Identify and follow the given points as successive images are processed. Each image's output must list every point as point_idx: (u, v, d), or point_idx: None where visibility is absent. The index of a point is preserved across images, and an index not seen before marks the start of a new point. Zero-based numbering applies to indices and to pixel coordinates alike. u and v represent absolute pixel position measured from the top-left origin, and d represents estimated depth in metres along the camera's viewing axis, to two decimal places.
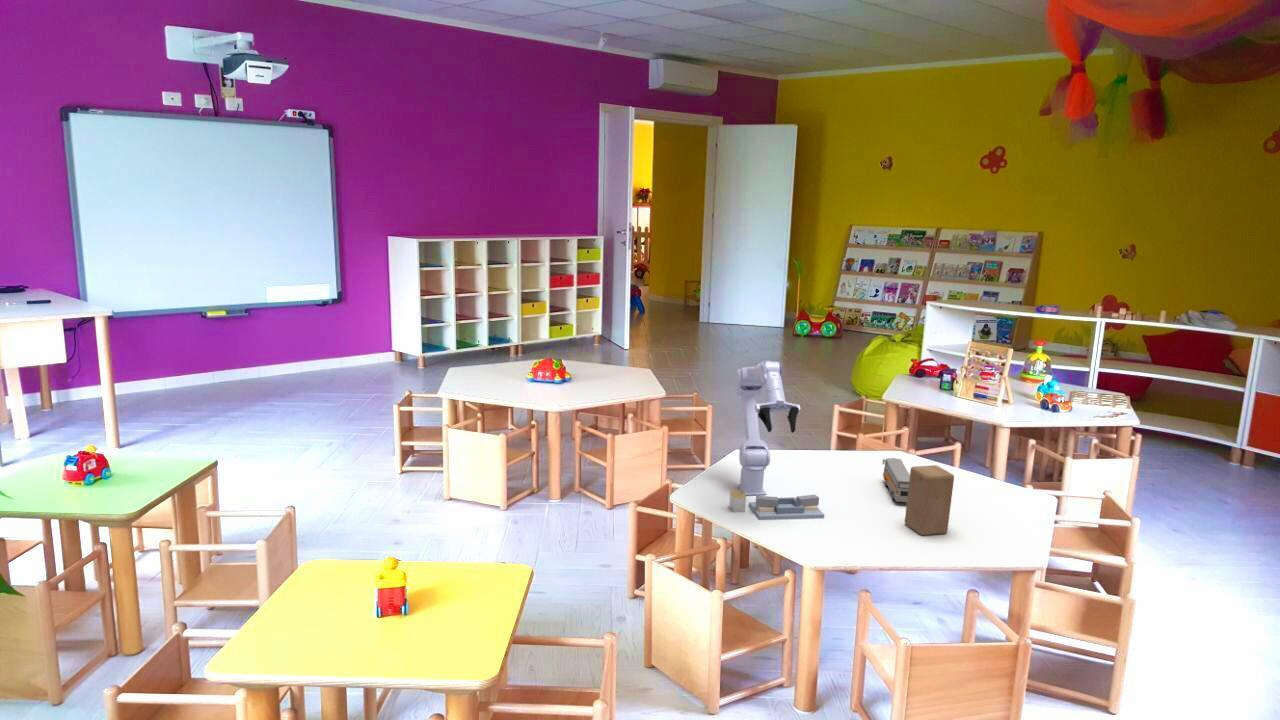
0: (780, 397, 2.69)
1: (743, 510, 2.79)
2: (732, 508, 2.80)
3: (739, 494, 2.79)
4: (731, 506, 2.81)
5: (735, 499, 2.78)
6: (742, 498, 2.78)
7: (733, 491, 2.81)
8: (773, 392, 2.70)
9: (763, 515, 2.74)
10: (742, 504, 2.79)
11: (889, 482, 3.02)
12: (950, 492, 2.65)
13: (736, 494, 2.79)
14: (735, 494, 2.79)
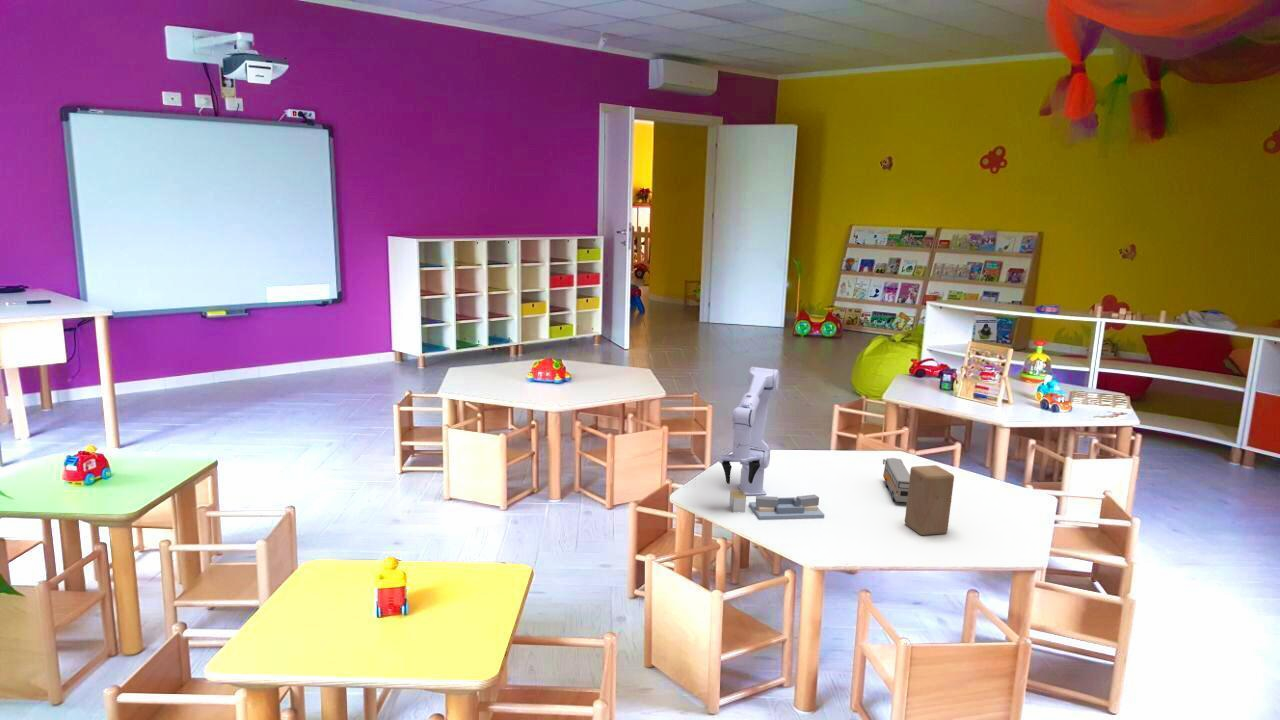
0: (744, 454, 2.75)
1: (743, 510, 2.79)
2: (732, 508, 2.80)
3: (739, 494, 2.79)
4: (731, 506, 2.81)
5: (735, 499, 2.78)
6: (742, 498, 2.78)
7: (733, 491, 2.81)
8: (739, 448, 2.74)
9: (763, 515, 2.74)
10: (742, 504, 2.79)
11: (889, 482, 3.02)
12: (950, 492, 2.65)
13: (736, 494, 2.79)
14: (735, 494, 2.79)
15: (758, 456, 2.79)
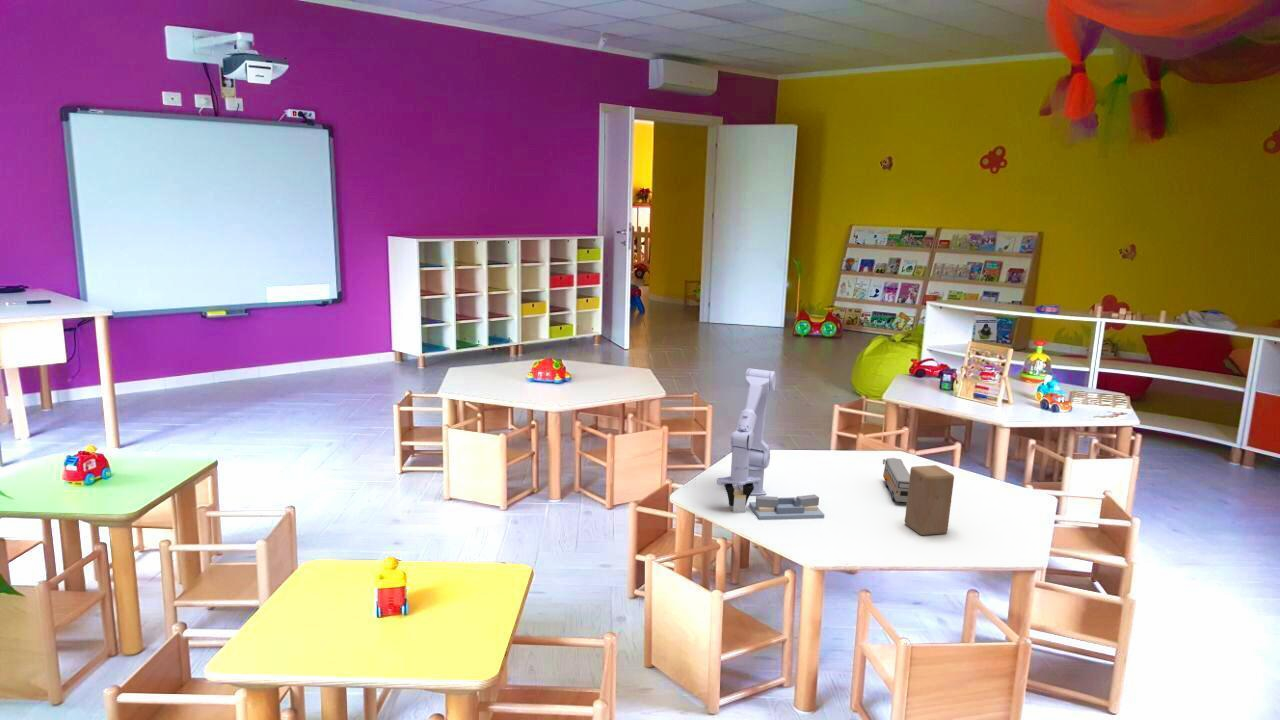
0: (743, 477, 2.76)
1: (743, 510, 2.79)
2: (732, 508, 2.80)
3: (739, 494, 2.79)
4: (731, 506, 2.81)
5: (735, 499, 2.78)
6: (742, 498, 2.78)
7: None
8: (737, 471, 2.76)
9: (763, 515, 2.74)
10: (742, 504, 2.79)
11: (889, 482, 3.02)
12: (950, 492, 2.65)
13: (736, 494, 2.79)
14: (735, 494, 2.79)
15: (756, 479, 2.80)
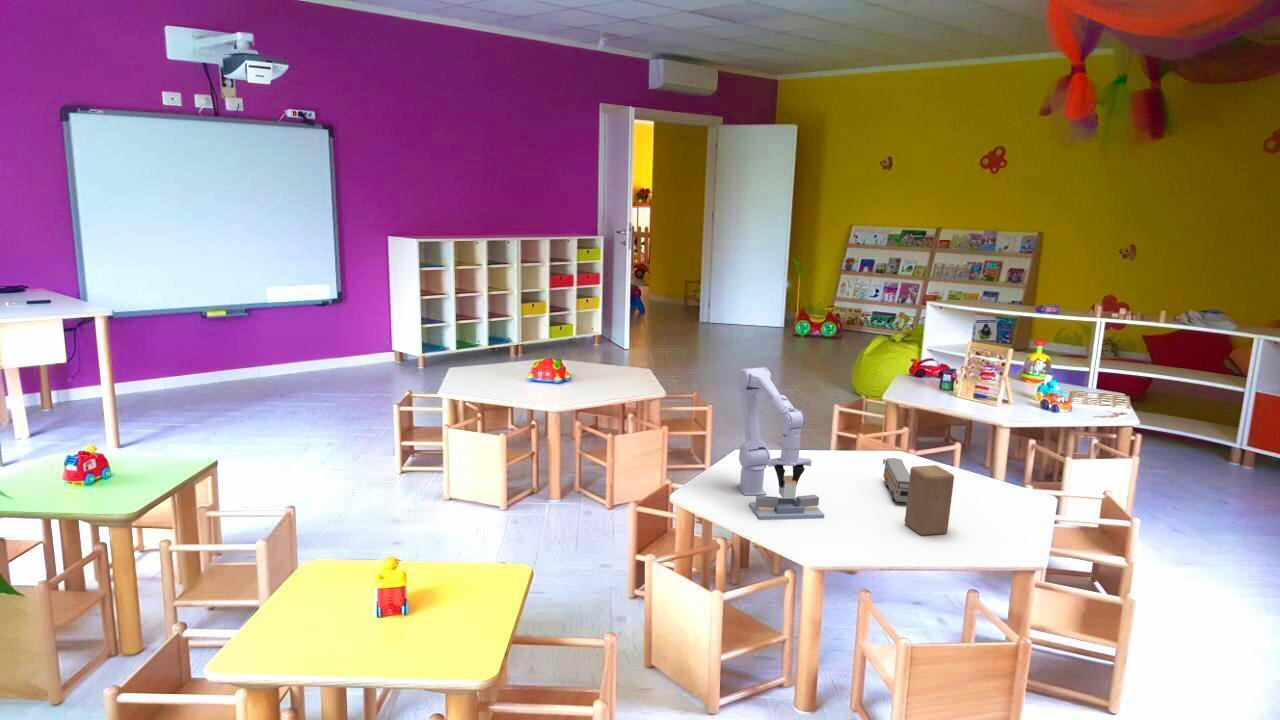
0: (793, 458, 2.75)
1: (793, 496, 2.78)
2: (782, 494, 2.78)
3: (789, 480, 2.77)
4: (781, 492, 2.79)
5: (785, 485, 2.76)
6: (792, 483, 2.77)
7: None
8: (788, 452, 2.74)
9: (763, 515, 2.74)
10: (793, 490, 2.77)
11: (889, 482, 3.02)
12: (950, 492, 2.65)
13: (786, 480, 2.77)
14: (785, 480, 2.77)
15: (807, 460, 2.78)
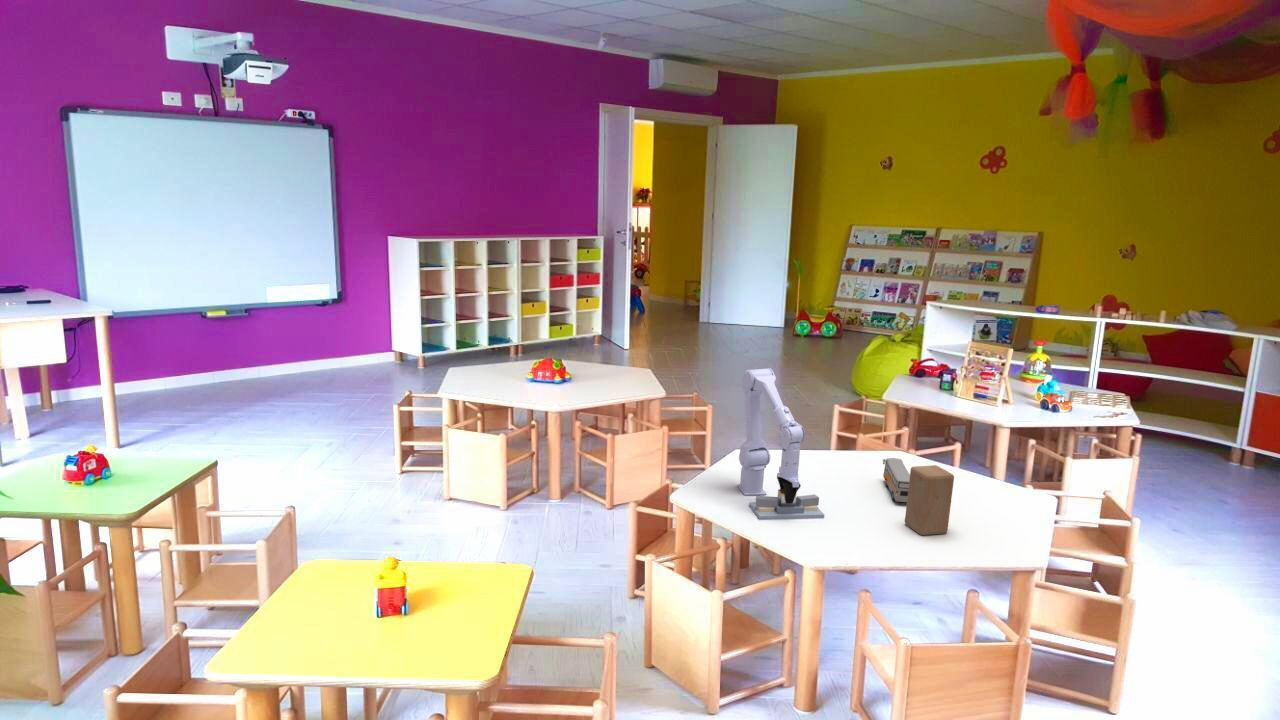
0: (781, 470, 2.77)
1: None
2: None
3: (782, 491, 2.80)
4: None
5: (778, 493, 2.81)
6: (780, 495, 2.79)
7: None
8: None
9: (763, 515, 2.74)
10: (780, 502, 2.79)
11: (889, 482, 3.02)
12: (950, 492, 2.65)
13: (781, 490, 2.81)
14: (781, 489, 2.81)
15: (794, 480, 2.73)
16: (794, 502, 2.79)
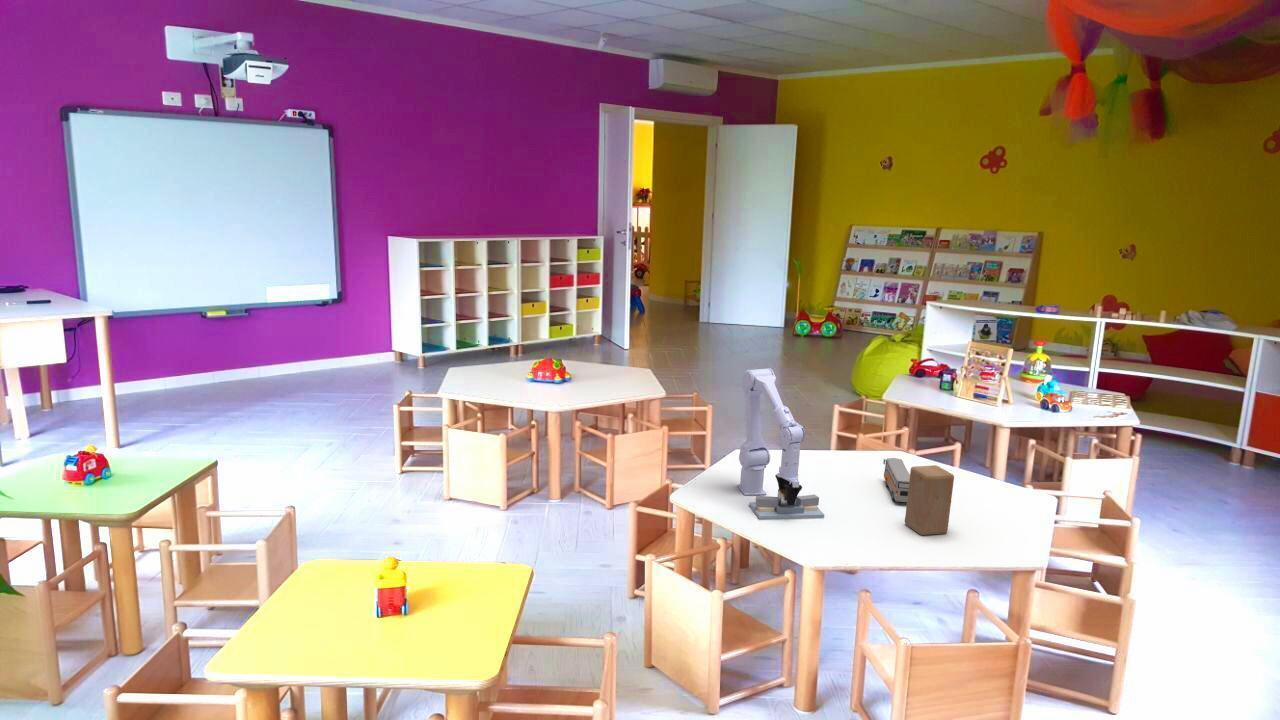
0: (781, 470, 2.77)
1: None
2: None
3: (782, 491, 2.80)
4: None
5: (778, 493, 2.81)
6: (780, 495, 2.79)
7: None
8: None
9: (763, 515, 2.74)
10: (780, 502, 2.79)
11: (889, 482, 3.02)
12: (950, 492, 2.65)
13: (781, 490, 2.81)
14: (781, 489, 2.81)
15: (794, 480, 2.73)
16: None
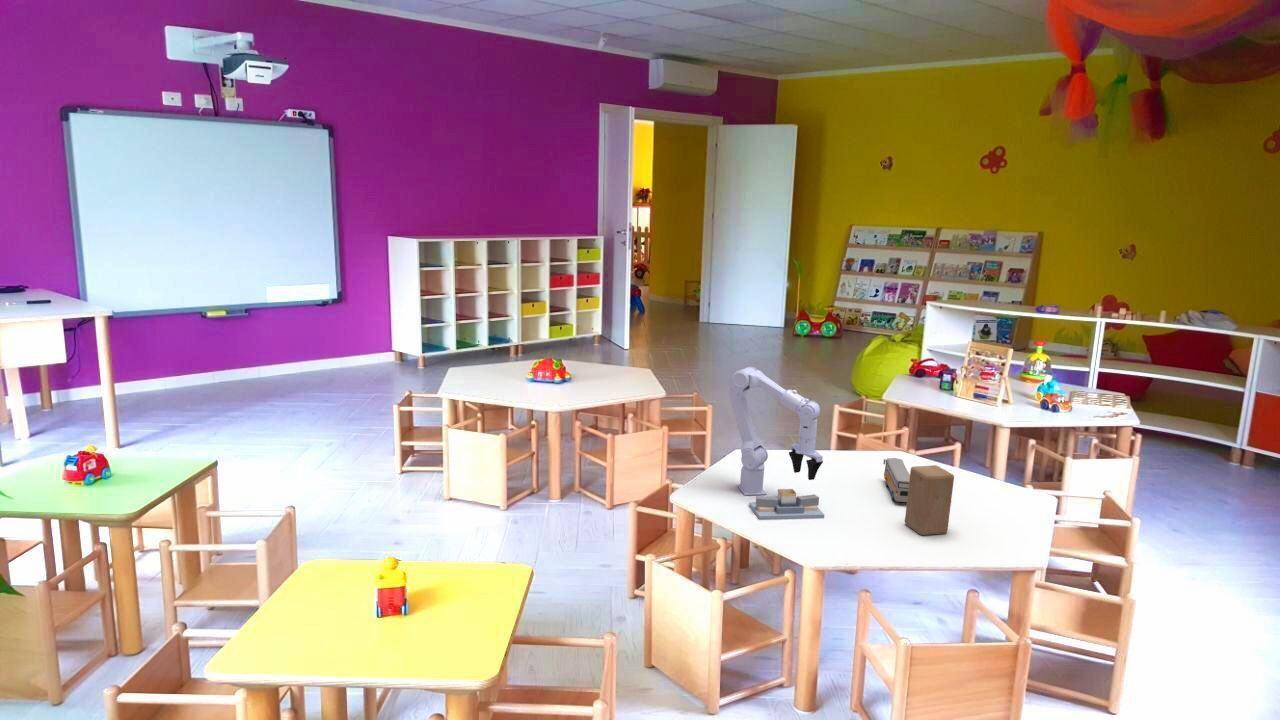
0: (800, 447, 2.83)
1: None
2: None
3: (782, 491, 2.80)
4: None
5: (778, 493, 2.81)
6: (780, 495, 2.79)
7: (789, 489, 2.81)
8: None
9: (763, 515, 2.74)
10: (780, 502, 2.79)
11: (889, 482, 3.02)
12: (950, 492, 2.65)
13: (781, 490, 2.81)
14: (781, 489, 2.81)
15: (817, 455, 2.80)
16: (794, 502, 2.79)
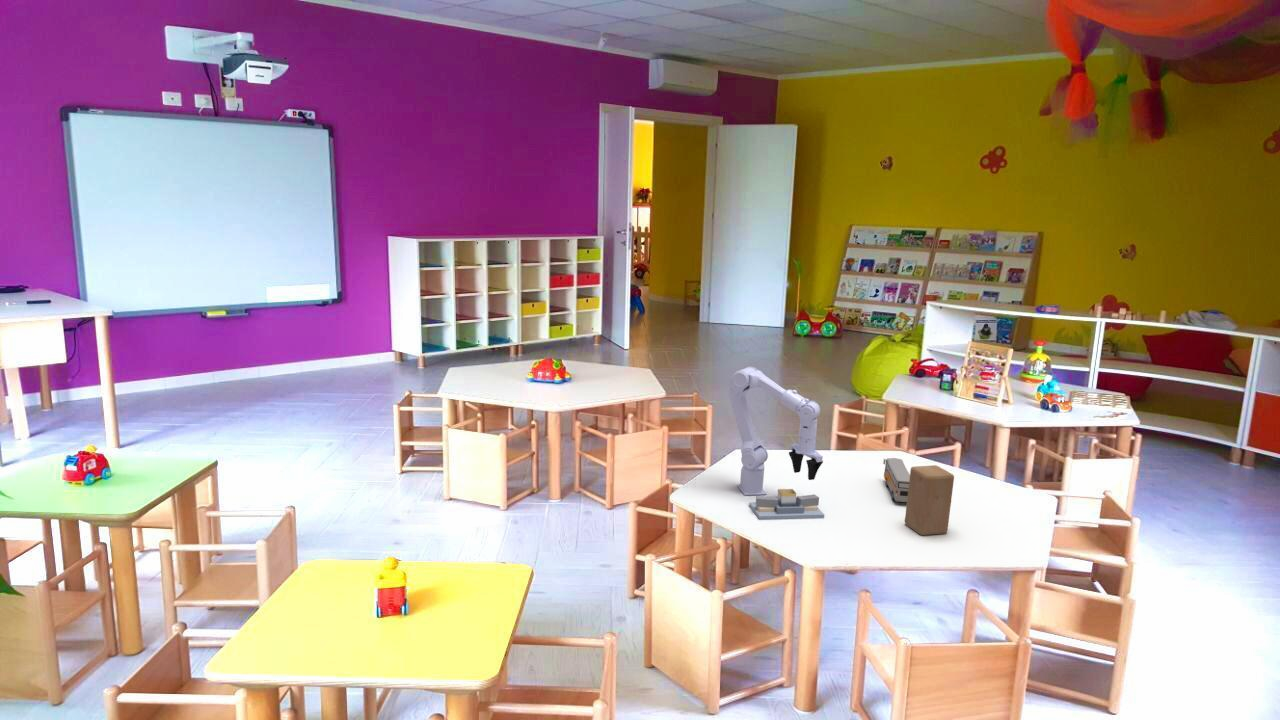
0: (800, 447, 2.83)
1: None
2: None
3: (782, 491, 2.80)
4: None
5: (778, 493, 2.81)
6: (780, 495, 2.79)
7: (789, 489, 2.81)
8: None
9: (763, 515, 2.74)
10: (780, 502, 2.79)
11: (889, 482, 3.02)
12: (950, 492, 2.65)
13: (781, 490, 2.81)
14: (781, 489, 2.81)
15: (817, 455, 2.80)
16: (794, 502, 2.79)
